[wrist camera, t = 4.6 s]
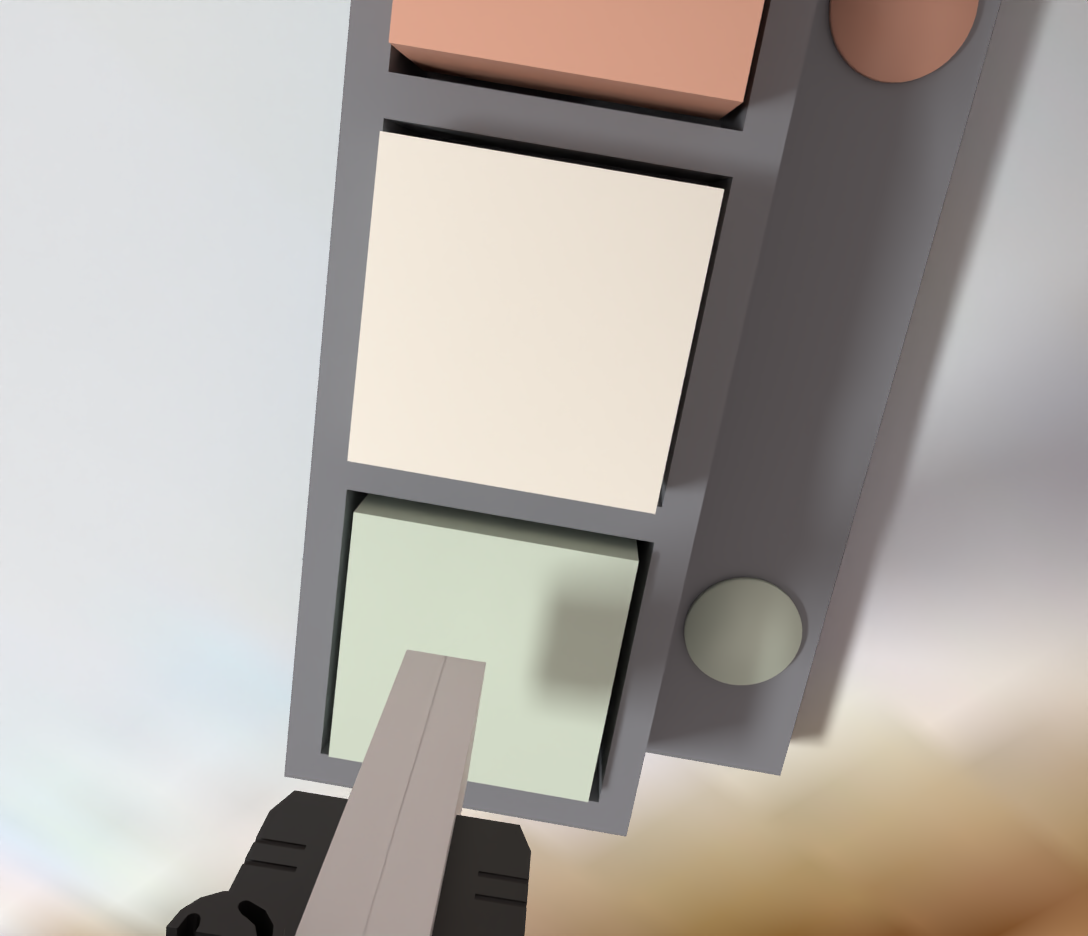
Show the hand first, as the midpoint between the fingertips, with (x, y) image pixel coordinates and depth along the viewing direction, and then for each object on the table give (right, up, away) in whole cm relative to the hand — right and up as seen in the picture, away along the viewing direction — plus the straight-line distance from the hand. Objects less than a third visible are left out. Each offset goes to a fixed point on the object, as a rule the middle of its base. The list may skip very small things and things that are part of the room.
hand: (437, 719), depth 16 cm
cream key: (+2, +8, +2) cm, 9 cm away
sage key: (+1, +1, +5) cm, 6 cm away
